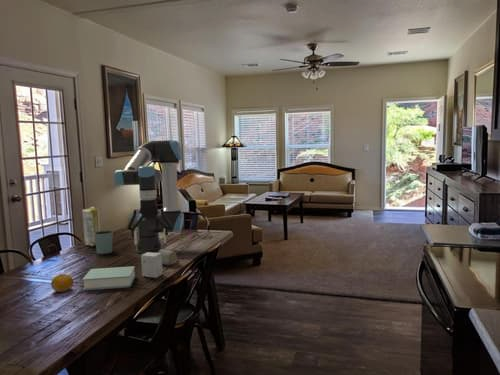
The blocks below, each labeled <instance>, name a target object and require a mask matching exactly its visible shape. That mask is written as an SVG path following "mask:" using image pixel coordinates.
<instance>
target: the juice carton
mask: <svg viewBox="0 0 500 375" xmlns="http://www.w3.org/2000/svg"><path fill="white" fill-rule="evenodd" d="M99 211H100V210H99V209H98V208H95V206H91V207H89V208H84V209H82V224H83V237H84V245H85V246H90V247H94V246H95V247H96V240H95V235H94V233H95V232H98V231H101V226H100V214H99Z"/></svg>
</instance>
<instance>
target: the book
mask: <svg viewBox="0 0 500 375" xmlns="http://www.w3.org/2000/svg"><path fill="white" fill-rule="evenodd" d="M135 267H136V266H135V265H134V266H132V265H131V266H118V267H117V266H116V267H102V268H91V269H90V270H89V271H88V272H87V273H86V274H85V276H84V277H82V281H83V286H84V288H82V291H92V290H107V289H121V288H124V289H125V288H131V286H132V284H133V282H134V281H135V278H136V274H135Z"/></svg>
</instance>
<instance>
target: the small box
mask: <svg viewBox="0 0 500 375" xmlns="http://www.w3.org/2000/svg"><path fill="white" fill-rule="evenodd" d="M140 259H141V260H140V261H141V274H142V277H144V276H145V277H147V278H158V277H160V276H161V275H163V274H164V273H163V264H162V257H161V253H158V252H155V253H151V252H147V253H142V254H141V255H140Z"/></svg>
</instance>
